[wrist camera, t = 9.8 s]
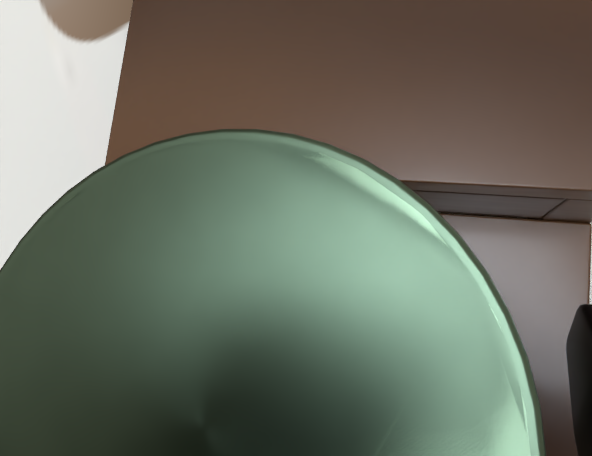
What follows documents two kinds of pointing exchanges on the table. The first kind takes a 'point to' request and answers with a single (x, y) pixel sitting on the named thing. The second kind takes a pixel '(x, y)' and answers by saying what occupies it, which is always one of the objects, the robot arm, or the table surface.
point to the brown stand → (407, 124)
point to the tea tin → (255, 314)
